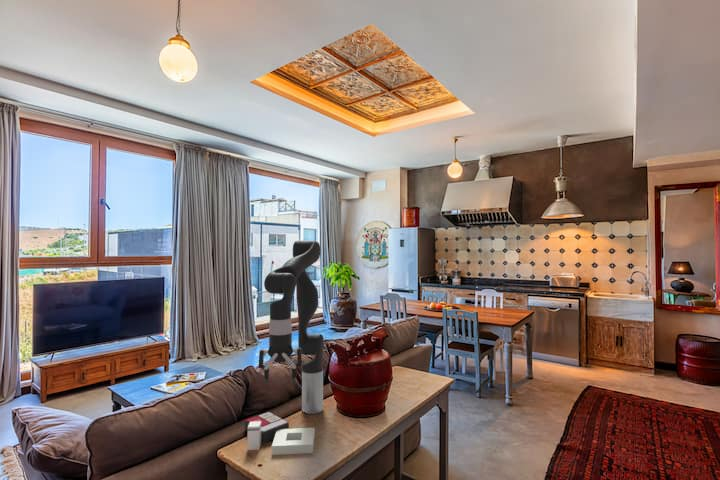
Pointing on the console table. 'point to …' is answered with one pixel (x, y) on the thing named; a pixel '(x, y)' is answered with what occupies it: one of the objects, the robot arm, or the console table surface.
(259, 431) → the white rectangular block
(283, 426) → the dark grey product box
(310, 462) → the console table surface
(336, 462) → the console table surface
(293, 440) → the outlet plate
